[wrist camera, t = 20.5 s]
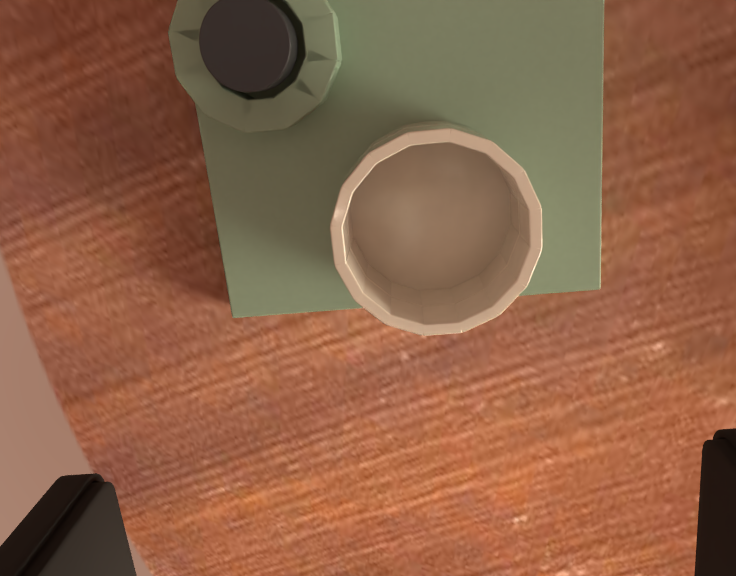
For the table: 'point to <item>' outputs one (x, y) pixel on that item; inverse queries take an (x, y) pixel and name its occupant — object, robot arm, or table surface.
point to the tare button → (248, 44)
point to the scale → (388, 112)
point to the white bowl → (436, 229)
